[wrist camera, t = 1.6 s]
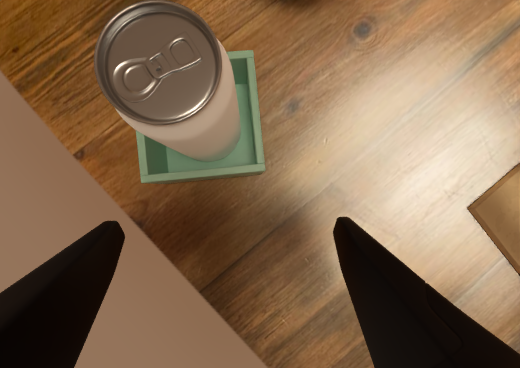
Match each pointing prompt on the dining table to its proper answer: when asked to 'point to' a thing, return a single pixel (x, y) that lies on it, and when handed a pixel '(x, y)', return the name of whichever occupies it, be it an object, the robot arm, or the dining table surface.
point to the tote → (233, 165)
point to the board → (502, 215)
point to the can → (170, 78)
